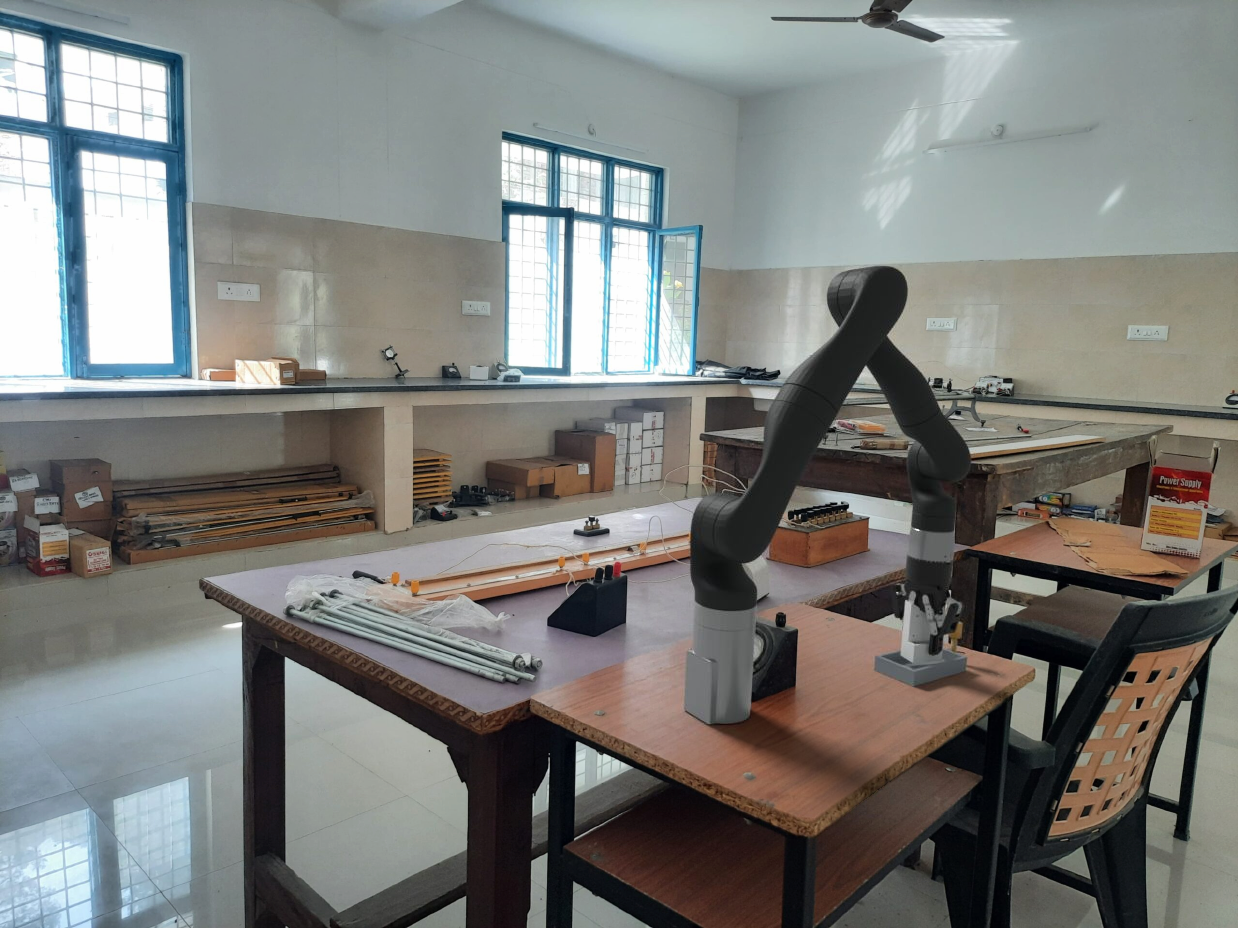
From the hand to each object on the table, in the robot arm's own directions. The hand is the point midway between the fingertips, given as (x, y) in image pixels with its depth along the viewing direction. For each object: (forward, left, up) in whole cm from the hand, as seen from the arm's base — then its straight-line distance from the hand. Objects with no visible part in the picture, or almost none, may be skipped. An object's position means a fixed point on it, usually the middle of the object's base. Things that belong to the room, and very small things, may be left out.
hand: (921, 649), depth 150 cm
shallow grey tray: (+2, 0, -4) cm, 4 cm away
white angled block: (0, 0, -2) cm, 2 cm away
